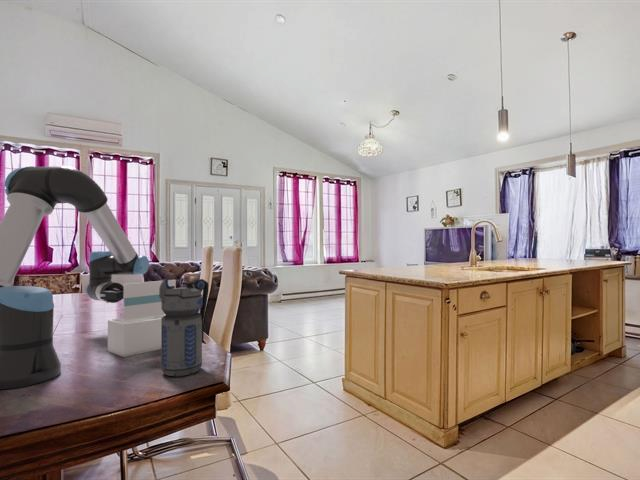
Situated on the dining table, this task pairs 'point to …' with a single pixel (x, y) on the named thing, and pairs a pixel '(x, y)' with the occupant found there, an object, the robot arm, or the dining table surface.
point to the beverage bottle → (182, 327)
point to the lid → (142, 299)
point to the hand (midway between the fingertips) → (139, 296)
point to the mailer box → (134, 335)
